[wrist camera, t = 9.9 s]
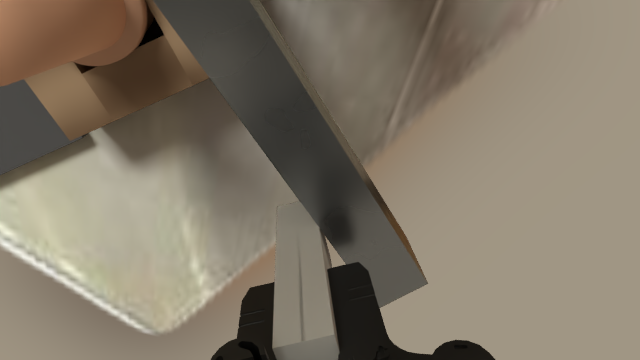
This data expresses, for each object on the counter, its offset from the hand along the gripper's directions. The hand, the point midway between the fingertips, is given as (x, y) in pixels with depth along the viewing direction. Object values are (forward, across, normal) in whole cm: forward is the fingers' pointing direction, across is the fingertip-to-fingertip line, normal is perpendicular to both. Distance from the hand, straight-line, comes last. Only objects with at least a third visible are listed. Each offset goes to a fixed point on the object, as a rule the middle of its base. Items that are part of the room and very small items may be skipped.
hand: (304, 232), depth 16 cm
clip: (+1, 0, +5) cm, 5 cm away
